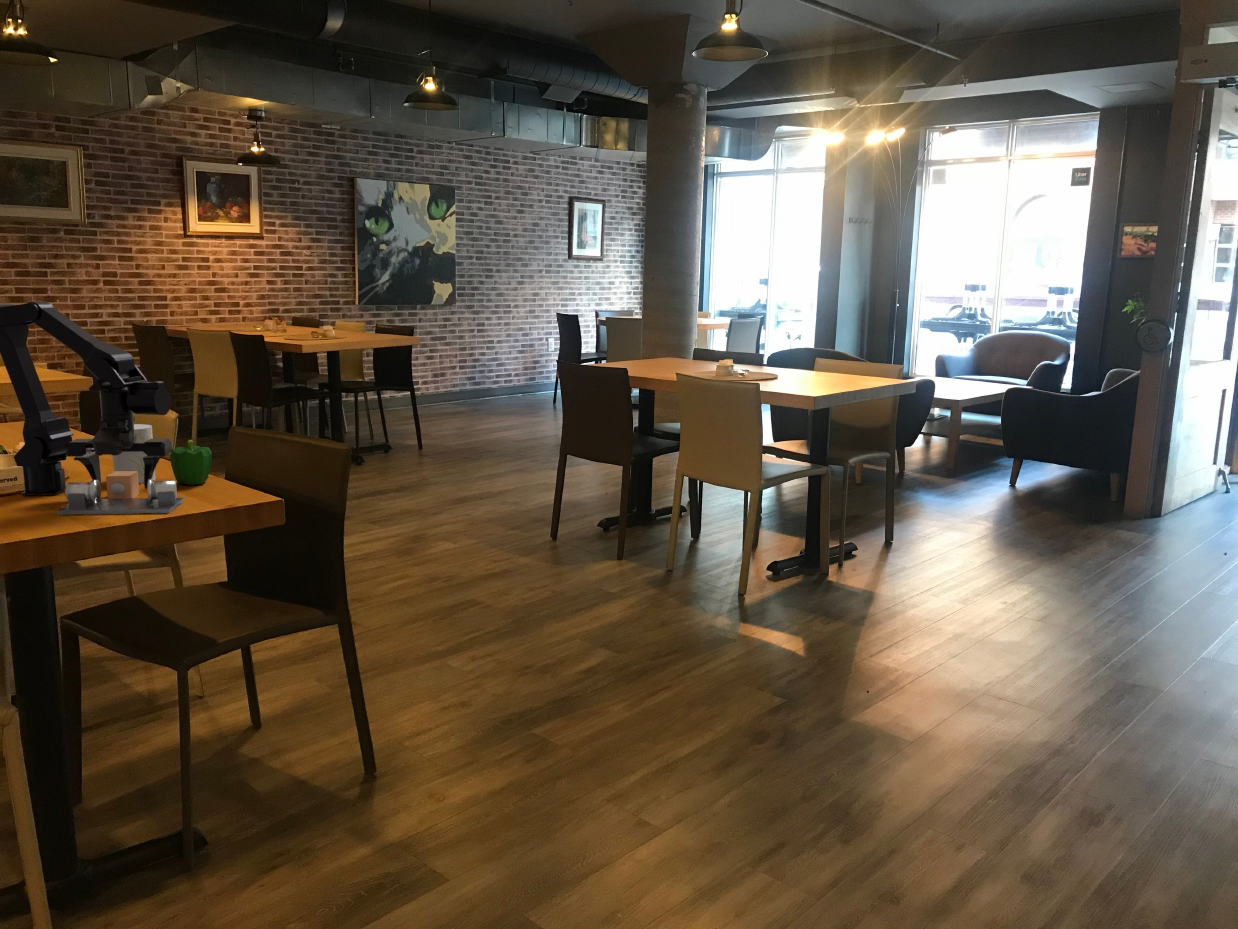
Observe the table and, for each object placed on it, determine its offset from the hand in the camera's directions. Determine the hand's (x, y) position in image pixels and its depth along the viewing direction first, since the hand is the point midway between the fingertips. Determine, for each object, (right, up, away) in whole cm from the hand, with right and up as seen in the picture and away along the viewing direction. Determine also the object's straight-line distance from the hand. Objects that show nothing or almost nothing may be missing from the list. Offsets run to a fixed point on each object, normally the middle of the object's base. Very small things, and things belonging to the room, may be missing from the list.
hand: (122, 488), depth 199 cm
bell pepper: (+8, +1, +15) cm, 17 cm away
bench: (+5, -4, -9) cm, 11 cm away
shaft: (+12, -3, -7) cm, 14 cm away
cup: (-6, +1, +16) cm, 17 cm away
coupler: (0, -2, 0) cm, 2 cm away
